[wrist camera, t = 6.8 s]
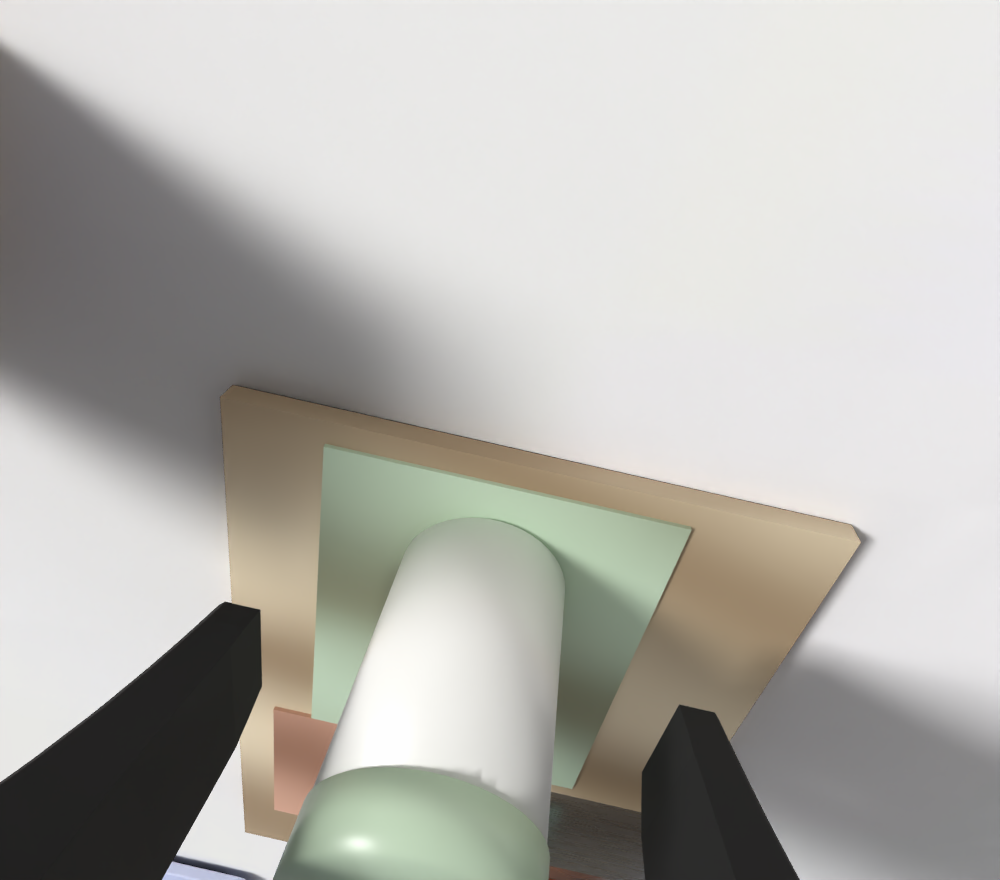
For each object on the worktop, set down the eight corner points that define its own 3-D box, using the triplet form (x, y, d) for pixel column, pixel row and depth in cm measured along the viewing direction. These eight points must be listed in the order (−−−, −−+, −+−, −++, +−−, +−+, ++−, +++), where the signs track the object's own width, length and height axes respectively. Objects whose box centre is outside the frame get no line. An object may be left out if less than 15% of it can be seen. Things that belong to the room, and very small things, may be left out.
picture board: (613, 898, 20) (614, 920, 20) (252, 815, 20) (243, 835, 20) (851, 525, 12) (863, 546, 11) (233, 385, 12) (216, 399, 11)
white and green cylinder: (553, 653, 14) (525, 1003, 9) (397, 624, 14) (282, 950, 9) (581, 532, 12) (564, 891, 7) (400, 501, 12) (256, 827, 7)
